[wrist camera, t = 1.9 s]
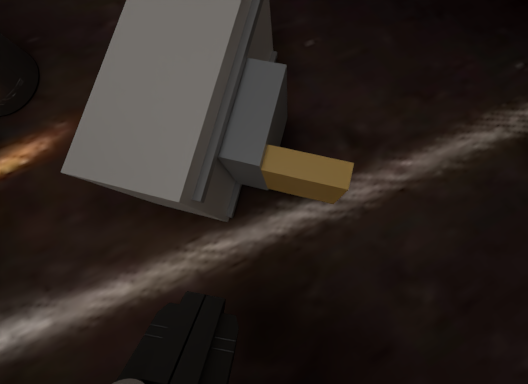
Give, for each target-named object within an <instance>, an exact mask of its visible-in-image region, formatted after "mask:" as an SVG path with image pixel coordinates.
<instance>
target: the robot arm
mask: <svg viewBox="0 0 528 384" xmlns="http://www.w3.org/2000/svg"><path fill="white" fill-rule="evenodd" d="M38 76H39V75H38V68H37V65H36V62H35V61H34V59H33V58H32V57H31V56H30V55H29V54H27V53H26V52H25V51H23V50H22V49H21V48H19V47H18V46H17V45H15V44H14V43H13V42H11V41H10V40H8V39H7V38H6V37H4V36H3V35H2V34H0V116H3V115H7V114H10V113H12V112H14V111H16V110H18V109H19V108H21V107H22V106H23V105H24V104H26V103H27V101H28V100H29V99H30V98H31V96H32V95H33V93H34V91H35V89H36V86H37V83H38ZM225 301H226V299H225V298H220V297H215V296H210V295H207V296H206V295H205V294H200V293H195V292H189V291H187V292H186V293H185V295H184V297H183V299H182V301H181V303H180V304H174V303H168V304H167V305H166V306H165V307H163V308H162V309H161V310H159V311H158V313H157V314H156V316H155V318H154V319H153V321H152V323H151V325H150V326H149V328H148V329H147V331H146V333H145V335H144V336H143V338H142V339H141V341H140V343H139V344H138V346H137V348H136V349H135V351H134V353H133V354H132V356H131V358H130V359H129V361H128V363H127V364H126V366H125V368H124V369H123V371H122V373H121V374H120V376H119V377H118V379H117V380H116V381H115V382H114V383H113V384H228V382H229V378H230V373H231V368H232V364H233V359H234V353H235V347H236V341H237V335H238V329H239V327H238V323H237V319H236V315H230V314H225V313H224V309H225Z"/></svg>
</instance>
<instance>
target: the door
mask: <svg viewBox="0 0 528 384" xmlns="http://www.w3.org/2000/svg"><path fill="white" fill-rule="evenodd" d="M286 121H287V65H285V64H279V63H274V62H268V61H263V60H257V59H251V58H247V59H246V62H245V65H244V69H243V72H242V76H241V79H240V82H239V86H238V89H237V93H236V96H235V99H234V103H233V106H232V110H231V113H230V116H229V120H228V123H227V127H226V130H225V133H224V137H223V140H222V144H221V147H220V150H219V154H218V157H217V158H218V159H219V160H220V161H221V163H222V164H223V165H224V166H225V168H226V169H227V170H228V171H229V173H230V174H231V175H232V176H233V178H234V179H235V180H236V181H237V183H239V184H243V185H247V186H252V187H256V188H260V189H264V190H269V189H272V190H276V191H280V192H284V193H289V194H293V195H297V196H301V197H305V198H310V199H314V200H318V201H322V202H326V203H331V204H334V203H335V202H336V201H337V200H338V199H339V198H340V197H341V196H342V195H343V194H344V193H345V192H346V191H348V189H349V184H350V179H351V175H352V170H353V165H354V163H351V162H346V161H342V160H337V159H332V158H328V157H323V156H319V155H314V154H309V153H305V152H300V151H296V150H291V149H286V148H282V147H280V144H281V140H282V136H283V132H284V129H285V125H286Z"/></svg>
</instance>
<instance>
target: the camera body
mask: <svg viewBox="0 0 528 384" xmlns="http://www.w3.org/2000/svg"><path fill="white" fill-rule="evenodd" d="M247 58H251V59H257V60H263V61H268V62H274V63H276V60H277V52H275V51H273V42H272V29H271V17H270V5H269V0H126V3H125V6H124V8H123V11H122V13H121V16H120V19H119V21H118V24H117V26H116V29H115V32H114V34H113V37H112V40H111V42H110V45H109V47H108V50H107V53H106V55H105V58H104V60H103V63H102V66H101V68H100V71H99V73H98V76H97V79H96V81H95V84H94V87H93V89H92V92H91V94H90V97H89V100H88V102H87V105H86V107H85V110H84V113H83V115H82V118H81V120H80V123H79V126H78V128H77V131H76V134H75V136H74V139H73V141H72V144H71V147H70V149H69V152H68V154H67V157H66V160H65V162H64V165H63V167H62V170H61V173H64V174H67V175H70V176H73V177H77V178H80V179H83V180H86V181H89V182H92V183H95V184H98V185H101V186H104V187H107V188H110V189H113V190H116V191H119V192H123V193H126V194H129V195H132V196H135V197H138V198H141V199H144V200H147V201H150V202H153V203H156V204H159V205H163V206H167V207H171V208H175V209H179V210H183V211H187V212H190V213H194V214H198V215H202V216H206V217H210V218H214V219H218V220H222V221H225V222H228V220H229V217H230V218H233V216H234V212H235V208H236V205H237V201H238V197H239V194H240V190H241V187H242V184H239V183H237V181H236V180H235V179H234V178H233V176H232V175H231V174H230V173H229V171H228V170H227V169H226V168H225V166H224V165H223V164H222V163H221V161H220V160H219V159H218V158H217V157H218V154H219V150H220V147H221V144H222V140H223V137H224V133H225V130H226V127H227V123H228V120H229V116H230V113H231V110H232V106H233V103H234V99H235V96H236V93H237V89H238V86H239V82H240V79H241V76H242V72H243V69H244V65H245V62H246V59H247Z"/></svg>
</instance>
